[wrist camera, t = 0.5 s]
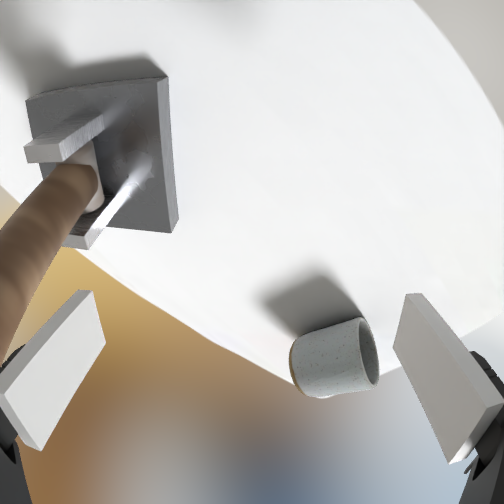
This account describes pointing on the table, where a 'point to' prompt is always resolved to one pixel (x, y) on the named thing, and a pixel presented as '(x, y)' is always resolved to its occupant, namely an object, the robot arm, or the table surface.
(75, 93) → the stand base
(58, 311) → the robot arm
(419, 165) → the table surface
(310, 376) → the ceramic mug
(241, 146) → the table surface
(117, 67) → the table surface
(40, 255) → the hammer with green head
